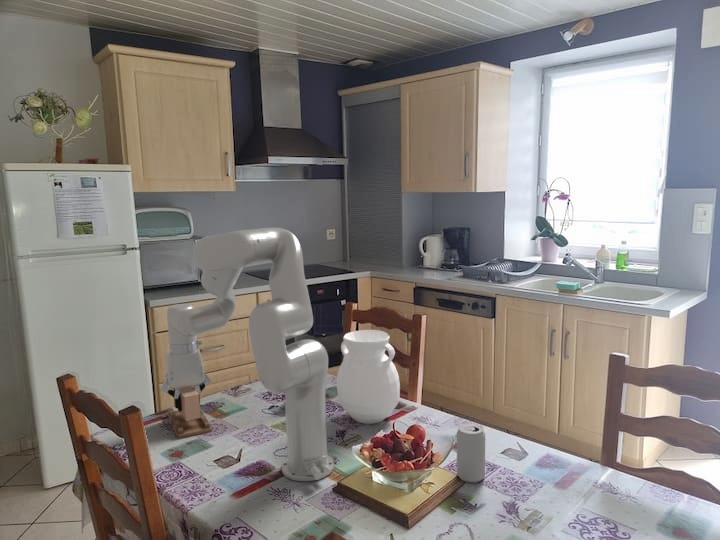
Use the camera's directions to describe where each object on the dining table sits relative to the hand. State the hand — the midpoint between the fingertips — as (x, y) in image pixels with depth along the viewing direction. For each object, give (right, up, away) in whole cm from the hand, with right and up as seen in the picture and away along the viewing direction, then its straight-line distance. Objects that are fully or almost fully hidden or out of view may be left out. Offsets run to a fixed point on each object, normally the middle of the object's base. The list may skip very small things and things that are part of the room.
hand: (187, 407), depth 156 cm
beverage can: (+76, -8, -32) cm, 83 cm away
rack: (0, -5, +1) cm, 5 cm away
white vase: (+53, -4, +2) cm, 53 cm away
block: (0, -1, 0) cm, 1 cm away
